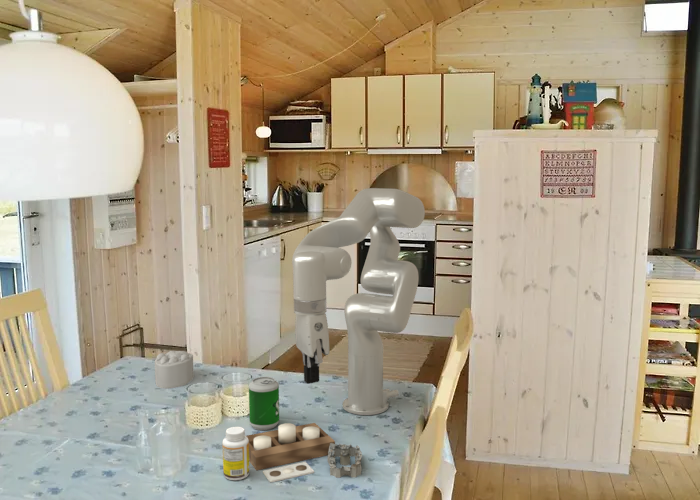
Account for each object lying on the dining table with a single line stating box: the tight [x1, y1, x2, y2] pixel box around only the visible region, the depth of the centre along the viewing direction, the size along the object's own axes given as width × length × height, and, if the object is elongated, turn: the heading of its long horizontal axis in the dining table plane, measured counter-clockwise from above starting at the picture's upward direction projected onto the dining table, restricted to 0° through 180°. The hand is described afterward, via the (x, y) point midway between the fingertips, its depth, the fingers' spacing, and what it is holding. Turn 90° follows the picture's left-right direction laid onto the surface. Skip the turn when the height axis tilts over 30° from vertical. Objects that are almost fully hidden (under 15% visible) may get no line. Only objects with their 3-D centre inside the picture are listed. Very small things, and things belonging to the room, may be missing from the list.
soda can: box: [248, 376, 280, 431], centre depth 166 cm, size 8×8×12 cm
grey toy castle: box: [326, 443, 363, 479], centre depth 144 cm, size 11×8×4 cm
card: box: [262, 461, 315, 483], centre depth 142 cm, size 10×5×1 cm, turn 116°
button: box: [303, 426, 320, 440], centre depth 155 cm, size 4×4×4 cm
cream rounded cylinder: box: [254, 436, 271, 450], centre depth 149 cm, size 4×4×4 cm
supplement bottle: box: [221, 426, 250, 481], centre depth 140 cm, size 6×6×10 cm
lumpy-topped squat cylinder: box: [154, 350, 195, 390], centre depth 200 cm, size 10×13×9 cm
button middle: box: [277, 422, 297, 445], centre depth 152 cm, size 4×4×4 cm
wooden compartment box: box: [245, 422, 336, 471], centre depth 152 cm, size 19×12×3 cm, turn 116°
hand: (311, 381), depth 153 cm, fingers closed
